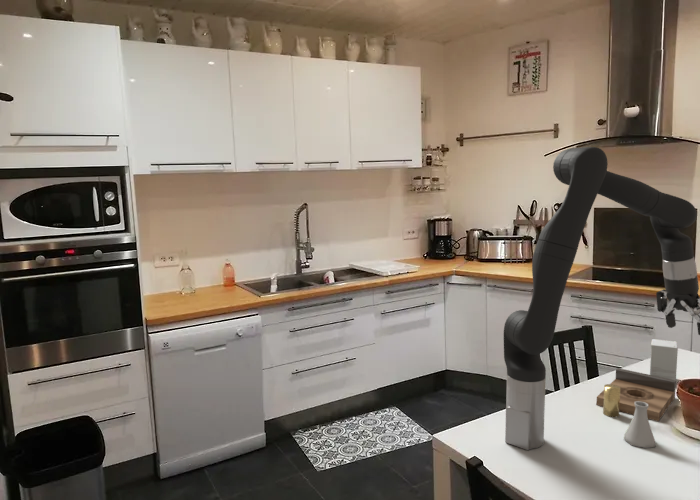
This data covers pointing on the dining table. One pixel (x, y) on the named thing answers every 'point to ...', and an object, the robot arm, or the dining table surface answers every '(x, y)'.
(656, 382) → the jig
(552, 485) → the dining table surface
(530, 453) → the dining table surface
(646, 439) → the flask
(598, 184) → the robot arm
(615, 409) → the gold upright block
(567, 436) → the dining table surface
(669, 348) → the supplement box
